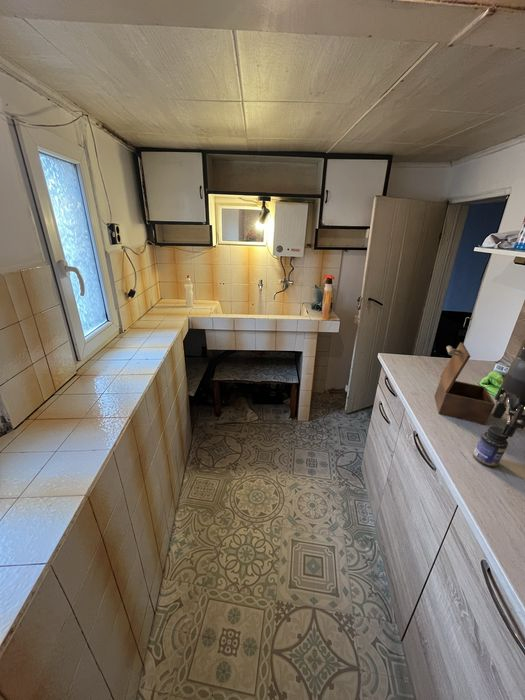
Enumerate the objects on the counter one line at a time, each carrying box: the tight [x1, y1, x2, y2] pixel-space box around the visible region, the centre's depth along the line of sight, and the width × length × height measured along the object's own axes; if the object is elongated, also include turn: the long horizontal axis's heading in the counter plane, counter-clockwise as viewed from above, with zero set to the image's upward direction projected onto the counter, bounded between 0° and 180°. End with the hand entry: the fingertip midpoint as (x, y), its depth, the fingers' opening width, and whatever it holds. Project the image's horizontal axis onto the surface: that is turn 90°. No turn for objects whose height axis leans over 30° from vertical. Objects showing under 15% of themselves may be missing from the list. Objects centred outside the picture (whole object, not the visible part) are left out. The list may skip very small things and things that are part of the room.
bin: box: [434, 378, 496, 426], centre depth 105 cm, size 15×13×9 cm
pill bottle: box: [472, 425, 509, 468], centre depth 81 cm, size 6×6×11 cm
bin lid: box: [440, 341, 471, 393], centre depth 102 cm, size 15×13×5 cm
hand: (501, 425), depth 78 cm, fingers open, 8 cm apart
